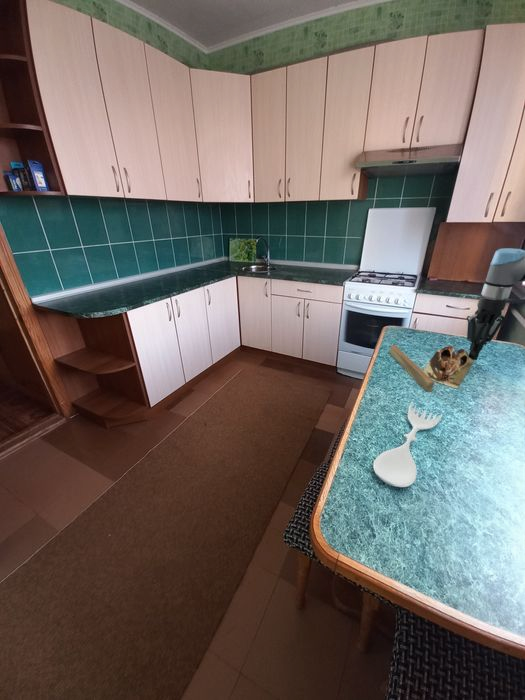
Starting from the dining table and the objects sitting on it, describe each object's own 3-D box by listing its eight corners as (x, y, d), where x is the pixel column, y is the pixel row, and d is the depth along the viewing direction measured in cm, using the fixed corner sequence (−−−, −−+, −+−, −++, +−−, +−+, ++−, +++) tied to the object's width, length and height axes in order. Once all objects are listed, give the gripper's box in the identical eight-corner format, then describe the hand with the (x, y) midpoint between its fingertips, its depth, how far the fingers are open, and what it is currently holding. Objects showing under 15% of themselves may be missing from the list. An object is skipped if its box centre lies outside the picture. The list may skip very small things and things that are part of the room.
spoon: (441, 422, 83) (444, 413, 82) (406, 501, 62) (409, 490, 60) (408, 409, 89) (410, 400, 87) (365, 478, 67) (367, 467, 66)
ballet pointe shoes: (480, 345, 113) (468, 374, 94) (474, 359, 116) (462, 391, 97) (441, 335, 120) (423, 360, 102) (437, 349, 124) (418, 376, 105)
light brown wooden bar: (393, 352, 122) (395, 344, 120) (431, 391, 97) (434, 382, 95) (389, 352, 122) (390, 345, 120) (426, 391, 97) (428, 382, 95)
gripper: (503, 293, 101) (481, 352, 112) (467, 294, 101) (449, 354, 111) (521, 299, 94) (496, 362, 105) (483, 301, 94) (462, 364, 105)
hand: (472, 358), depth 108 cm, fingers closed
